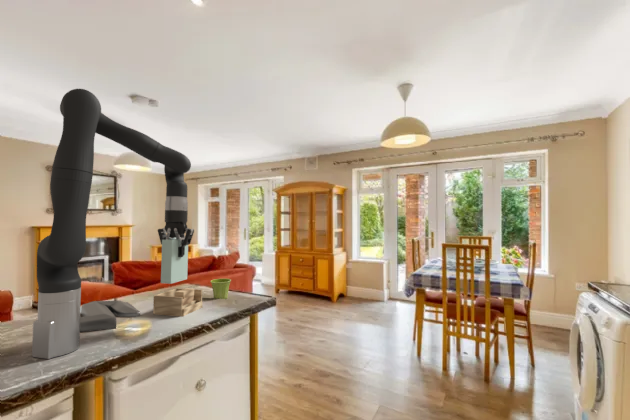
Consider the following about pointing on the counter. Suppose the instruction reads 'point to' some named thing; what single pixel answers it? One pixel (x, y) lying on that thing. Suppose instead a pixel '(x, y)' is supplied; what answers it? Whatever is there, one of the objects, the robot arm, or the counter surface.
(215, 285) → the plant pot
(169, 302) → the rack
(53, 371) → the counter surface
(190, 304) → the offcut bottom
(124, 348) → the counter surface
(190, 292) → the offcut top
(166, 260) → the tall board
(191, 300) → the offcut middle
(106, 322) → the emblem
